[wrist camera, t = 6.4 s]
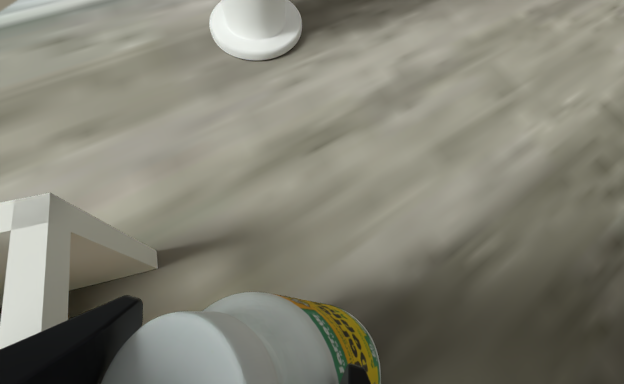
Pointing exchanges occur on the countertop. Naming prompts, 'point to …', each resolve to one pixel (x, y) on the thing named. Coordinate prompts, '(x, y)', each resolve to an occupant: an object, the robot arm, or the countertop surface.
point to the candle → (255, 27)
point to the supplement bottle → (247, 345)
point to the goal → (56, 261)
